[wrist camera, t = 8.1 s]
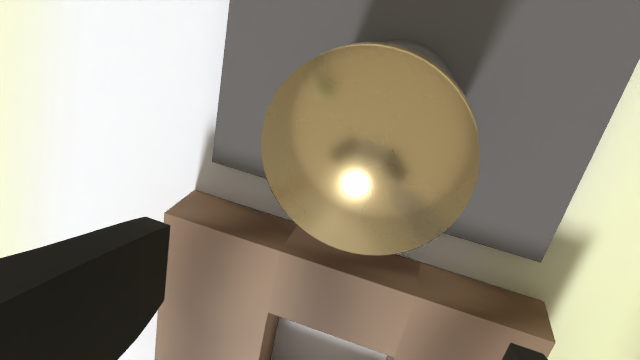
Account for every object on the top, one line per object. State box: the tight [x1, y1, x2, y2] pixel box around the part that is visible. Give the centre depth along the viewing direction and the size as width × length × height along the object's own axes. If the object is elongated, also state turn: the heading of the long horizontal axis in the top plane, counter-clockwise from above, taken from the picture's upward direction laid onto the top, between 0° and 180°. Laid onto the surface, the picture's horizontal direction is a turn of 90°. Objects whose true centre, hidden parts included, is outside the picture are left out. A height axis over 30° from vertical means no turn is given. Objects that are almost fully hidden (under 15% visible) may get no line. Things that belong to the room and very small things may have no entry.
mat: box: [212, 0, 640, 262], centre depth 17 cm, size 14×10×1 cm
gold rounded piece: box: [261, 40, 480, 255], centre depth 14 cm, size 5×5×6 cm
